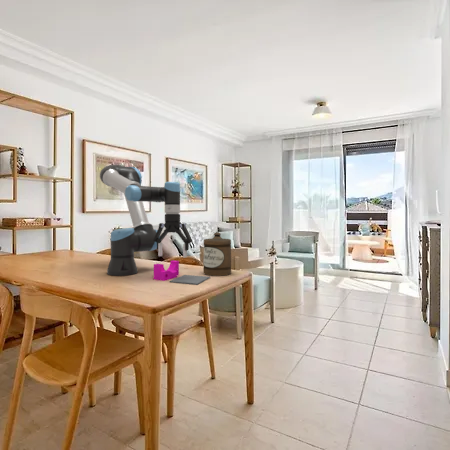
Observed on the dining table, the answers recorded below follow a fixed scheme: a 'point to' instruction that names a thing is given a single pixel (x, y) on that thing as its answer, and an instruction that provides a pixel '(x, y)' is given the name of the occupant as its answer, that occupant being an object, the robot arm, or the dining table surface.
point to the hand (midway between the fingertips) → (172, 256)
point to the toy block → (166, 271)
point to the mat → (190, 279)
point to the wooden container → (217, 256)
